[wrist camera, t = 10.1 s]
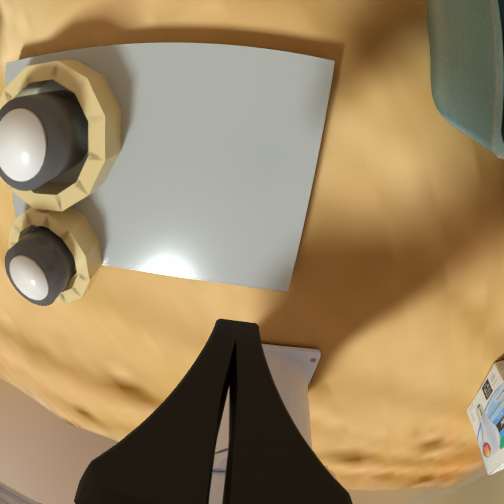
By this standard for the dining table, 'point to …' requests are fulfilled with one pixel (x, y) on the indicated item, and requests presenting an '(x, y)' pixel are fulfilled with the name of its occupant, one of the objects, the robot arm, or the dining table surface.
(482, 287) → the dining table surface
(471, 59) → the flower pot
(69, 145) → the cap
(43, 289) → the board
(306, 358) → the robot arm
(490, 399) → the light bulb box
